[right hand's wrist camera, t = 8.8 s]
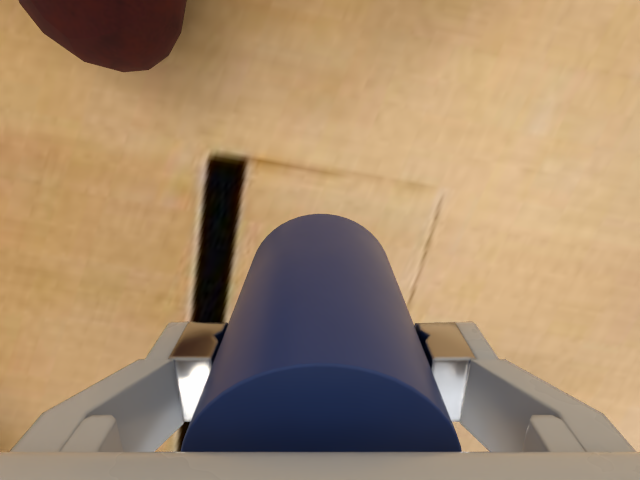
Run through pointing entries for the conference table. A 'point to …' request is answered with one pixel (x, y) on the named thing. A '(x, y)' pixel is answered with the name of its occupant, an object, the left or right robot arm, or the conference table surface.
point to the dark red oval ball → (111, 29)
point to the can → (320, 354)
